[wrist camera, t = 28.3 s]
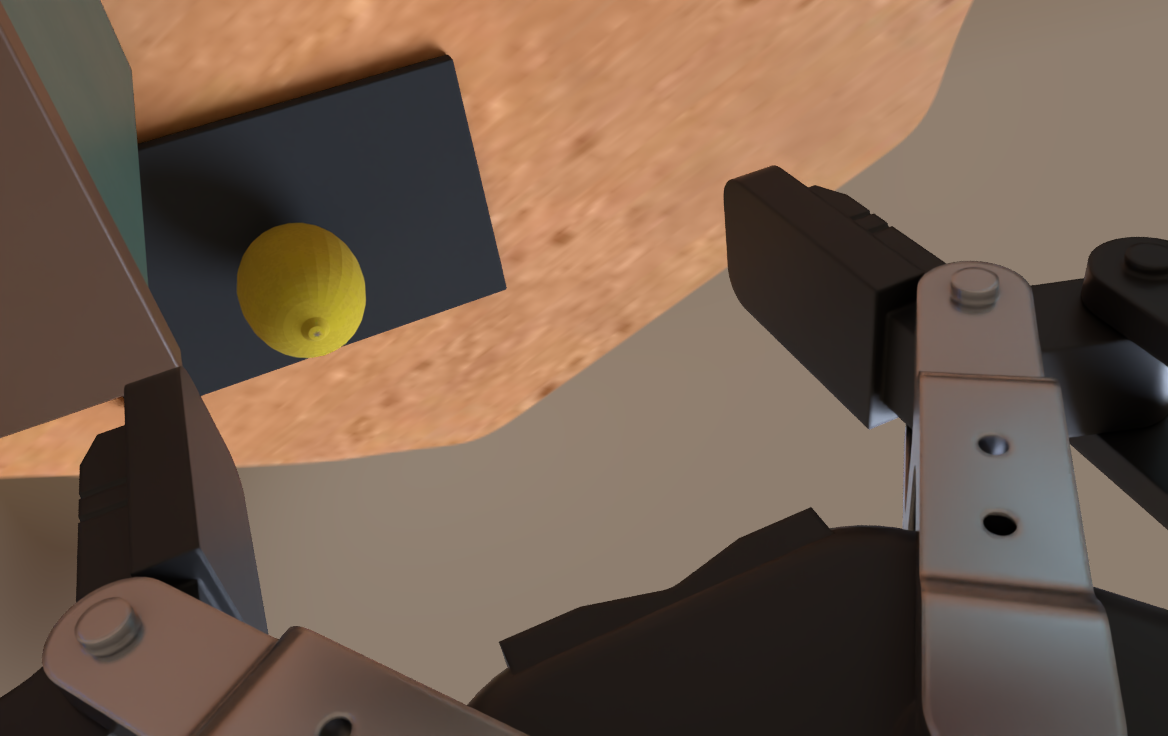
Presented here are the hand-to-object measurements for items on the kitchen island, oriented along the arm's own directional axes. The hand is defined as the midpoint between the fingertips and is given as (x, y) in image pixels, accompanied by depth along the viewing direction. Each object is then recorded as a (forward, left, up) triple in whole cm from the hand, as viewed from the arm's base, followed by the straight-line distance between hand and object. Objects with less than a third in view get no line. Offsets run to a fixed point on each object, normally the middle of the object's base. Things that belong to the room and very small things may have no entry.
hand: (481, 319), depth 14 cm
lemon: (+3, +15, -32) cm, 36 cm away
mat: (+3, +15, -33) cm, 36 cm away
